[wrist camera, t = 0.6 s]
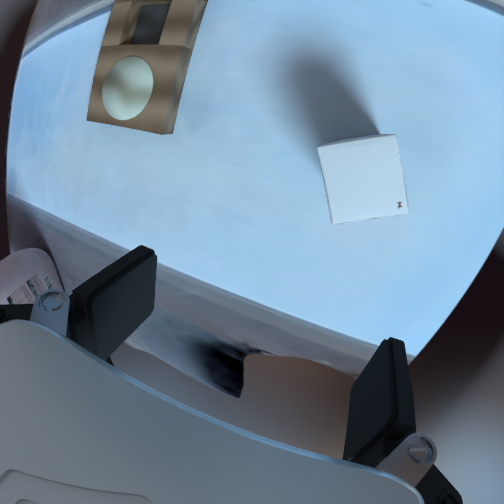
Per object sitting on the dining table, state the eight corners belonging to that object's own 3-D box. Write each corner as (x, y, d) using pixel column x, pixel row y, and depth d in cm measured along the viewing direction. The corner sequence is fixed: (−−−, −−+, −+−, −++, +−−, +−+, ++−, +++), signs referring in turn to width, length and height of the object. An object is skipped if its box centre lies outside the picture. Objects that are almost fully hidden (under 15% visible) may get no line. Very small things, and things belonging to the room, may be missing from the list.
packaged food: (28, 239, 62) (-60, 289, 35) (68, 239, 56) (-43, 304, 29) (52, 311, 70) (-20, 369, 43) (95, 324, 64) (11, 401, 37)
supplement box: (381, 132, 32) (399, 132, 21) (391, 190, 35) (411, 217, 23) (324, 141, 35) (315, 145, 24) (335, 198, 37) (331, 227, 26)
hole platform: (130, -7, 32) (118, -12, 29) (212, -13, 29) (202, -21, 26) (98, 119, 43) (85, 120, 40) (172, 133, 40) (160, 134, 37)
